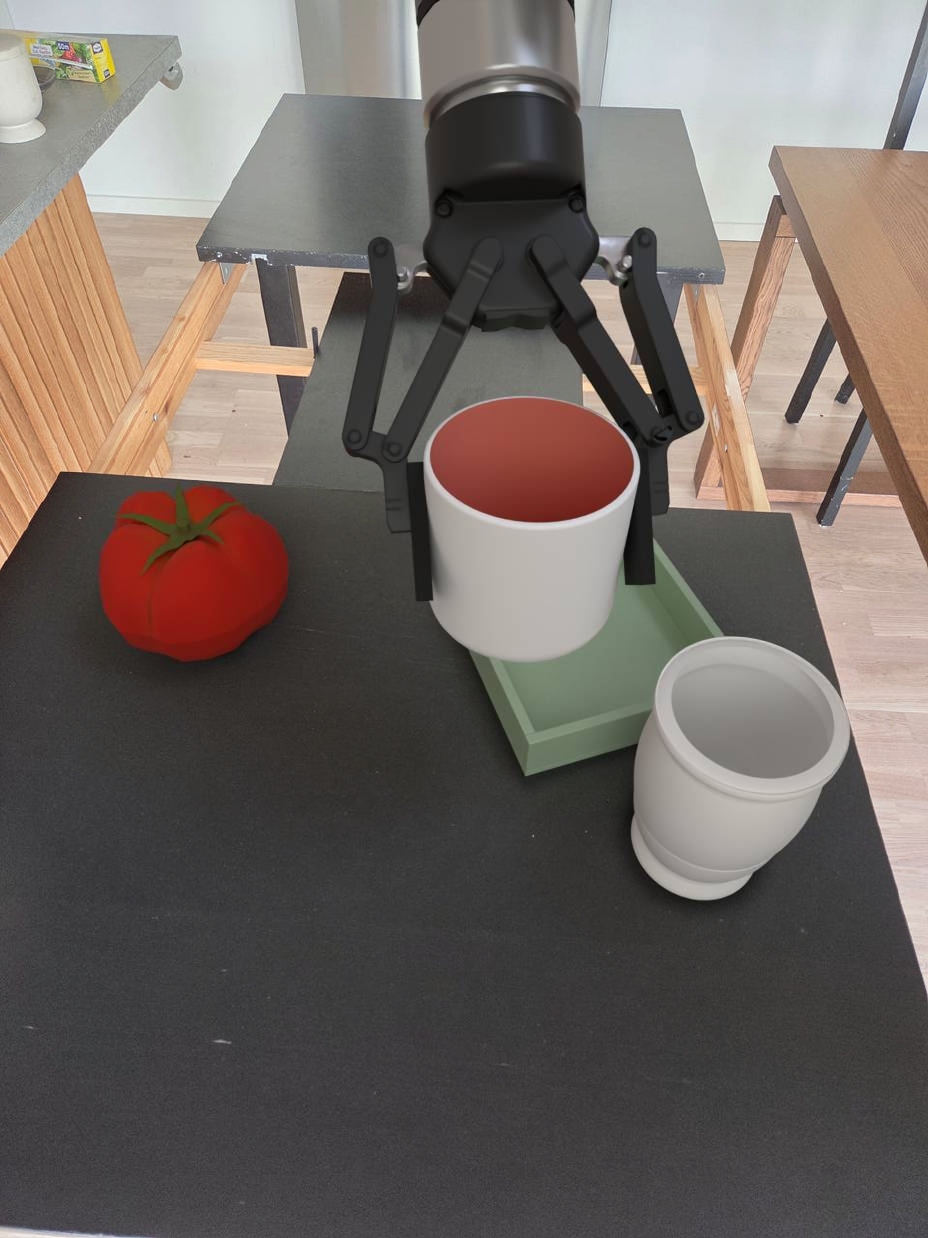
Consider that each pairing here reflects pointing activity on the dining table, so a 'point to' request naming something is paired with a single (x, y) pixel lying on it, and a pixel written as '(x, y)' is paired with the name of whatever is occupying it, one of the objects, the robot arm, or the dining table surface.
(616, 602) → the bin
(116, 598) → the tomato
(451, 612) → the cup
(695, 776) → the jar
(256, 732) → the dining table surface
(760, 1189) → the dining table surface
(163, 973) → the dining table surface
